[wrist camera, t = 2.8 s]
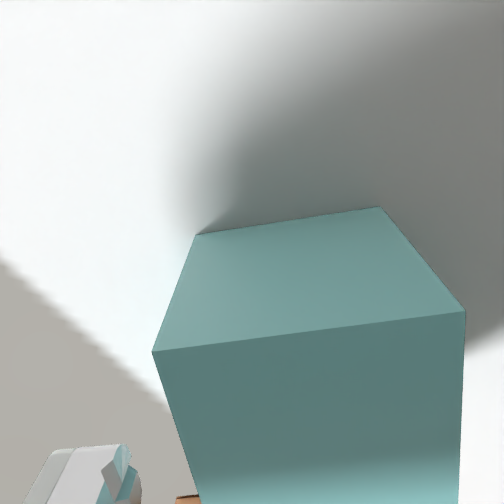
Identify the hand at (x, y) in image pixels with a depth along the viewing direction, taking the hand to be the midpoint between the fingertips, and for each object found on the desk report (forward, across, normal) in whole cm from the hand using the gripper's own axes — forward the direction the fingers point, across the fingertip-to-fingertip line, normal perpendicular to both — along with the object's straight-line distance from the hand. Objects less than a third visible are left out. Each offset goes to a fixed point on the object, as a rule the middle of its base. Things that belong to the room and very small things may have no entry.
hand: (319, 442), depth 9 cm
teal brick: (+4, 0, -1) cm, 4 cm away
